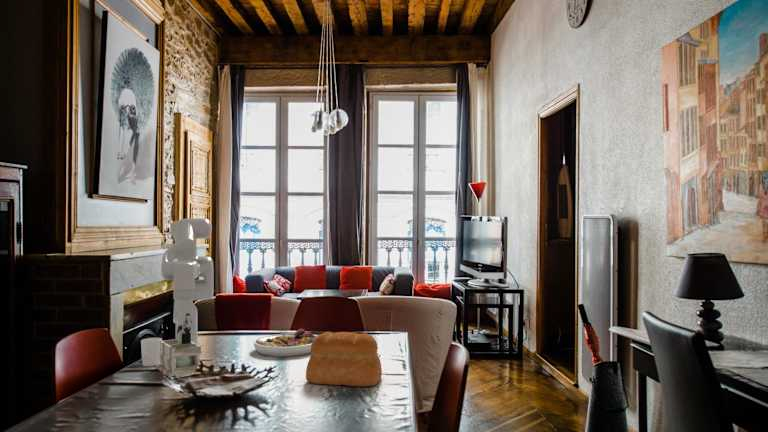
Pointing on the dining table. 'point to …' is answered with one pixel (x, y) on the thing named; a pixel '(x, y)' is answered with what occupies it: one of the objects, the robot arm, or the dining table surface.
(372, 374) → the bread
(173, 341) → the grey divided rectangular box
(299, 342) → the bowl
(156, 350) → the white cup
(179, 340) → the sage ball
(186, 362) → the sage ball
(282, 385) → the dining table surface
